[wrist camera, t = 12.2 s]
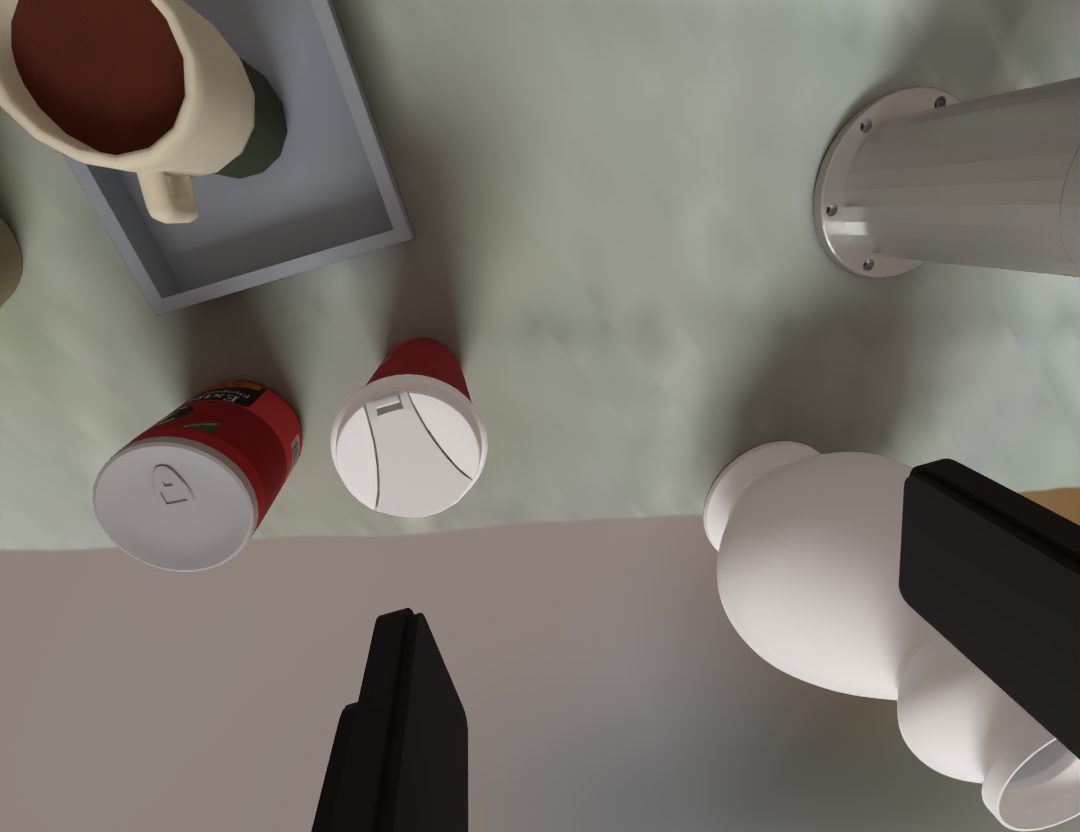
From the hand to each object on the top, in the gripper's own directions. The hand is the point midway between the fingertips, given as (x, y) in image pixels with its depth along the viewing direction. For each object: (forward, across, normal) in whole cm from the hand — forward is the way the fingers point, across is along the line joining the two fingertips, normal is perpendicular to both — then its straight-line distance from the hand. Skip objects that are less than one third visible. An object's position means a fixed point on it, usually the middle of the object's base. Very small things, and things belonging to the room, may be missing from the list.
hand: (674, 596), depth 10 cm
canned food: (+30, +21, +3) cm, 36 cm away
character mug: (+29, +14, -15) cm, 35 cm away
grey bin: (+30, +14, -15) cm, 36 cm away
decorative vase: (+31, -18, +23) cm, 42 cm away
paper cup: (+30, +8, +3) cm, 31 cm away
